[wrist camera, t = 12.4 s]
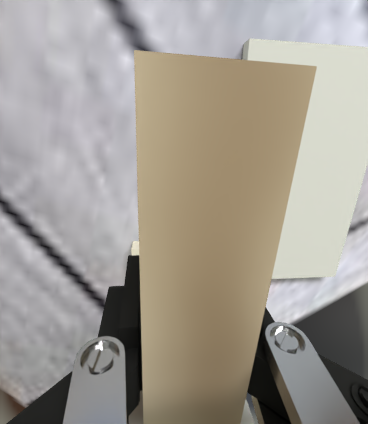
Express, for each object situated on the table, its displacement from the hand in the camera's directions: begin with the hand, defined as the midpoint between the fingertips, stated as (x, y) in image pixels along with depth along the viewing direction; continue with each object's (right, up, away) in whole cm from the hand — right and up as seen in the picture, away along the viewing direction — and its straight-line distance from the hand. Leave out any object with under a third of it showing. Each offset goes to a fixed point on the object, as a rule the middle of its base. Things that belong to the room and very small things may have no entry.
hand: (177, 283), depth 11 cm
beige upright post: (0, 0, 0) cm, 0 cm away
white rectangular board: (+12, +7, +15) cm, 21 cm away
